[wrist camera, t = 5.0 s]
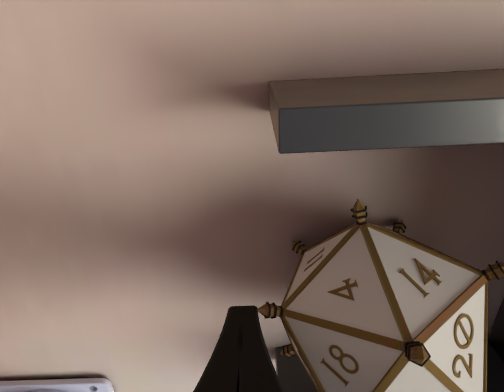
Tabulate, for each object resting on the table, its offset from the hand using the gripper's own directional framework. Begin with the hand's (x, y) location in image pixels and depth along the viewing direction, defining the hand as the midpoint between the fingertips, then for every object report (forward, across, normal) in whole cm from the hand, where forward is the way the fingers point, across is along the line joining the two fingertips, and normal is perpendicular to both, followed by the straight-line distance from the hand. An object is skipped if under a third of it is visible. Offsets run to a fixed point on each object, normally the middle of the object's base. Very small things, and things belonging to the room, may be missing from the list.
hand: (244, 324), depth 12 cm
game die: (+5, -5, 0) cm, 7 cm away
